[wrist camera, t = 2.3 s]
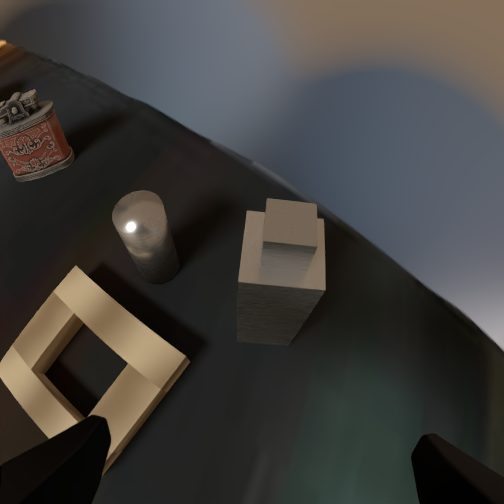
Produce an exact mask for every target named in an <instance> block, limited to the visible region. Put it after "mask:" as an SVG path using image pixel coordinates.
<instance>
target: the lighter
mask: <svg viewBox="0 0 504 504" xmlns="http://www.w3.org/2000/svg"><path fill="white" fill-rule="evenodd" d="M54 110H55V107H54V105H53V102H52V101H50V100H48V101H44V102H40V103H39V100H38V95H37V93H36V90H32V91H29V92H27V93H24V94H22V93H20V92H16V93H14V94H13V95H12V97H11V99H10V100H8V101H6V102H5V101H3V102H1V103H0V151H1V152H2V154H3V156H4V157H5V159H6V161H7V162H8V164H9V166H10V167H11V169H12V170H13V172H14V173H13V174H14V177H15V178H16V180H17V181H18V182H23V181H28V180H33V179H36V178H40V177H43V176H46V175H49V174H51V173H54V172H56V171H58V170H61V169H63V168H65V167H67V166H69V165H70V164H71V163H72V161H73V160H74V153H73V150H72V148H71V147H69V145H68V143H67V141H66V138H65V136H64V134H63V131H62V129H61V127H60V124H59V122H58V119H57V117H56V114H55V112H54ZM7 114H8V116H7Z"/></svg>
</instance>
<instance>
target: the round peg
mask: <svg viewBox="0 0 504 504" xmlns="http://www.w3.org/2000/svg"><path fill="white" fill-rule="evenodd" d="M112 219H113V223H114V225H115V227H116V229H117V231H118V233H119V235H120V236H121V238H122V240H123V242H124V244H125V246H126V248H127V250H128V252H129V253H130V255H131V257H132V259H133V261H134V263H135V264H136V266H137V268H138V270H139V271H140V273H141V275H142V277H143V278H144V279H145V280H146V281H148V282H149V283H152V284H164V283H166V282H168V281H170V280H171V279H173V278H174V277H175V275H176V274H177V272H178V270H179V259H178V255H177V252H176V249H175V245H174V242H173V239H172V235H171V232H170V228H169V225H168V221H167V218H166V214H165V211H164V207H163V204H162V201H161V199H160V198H159V197H158V196H157V195H156V194H155V193H153V192H150V191H136V192H132V193H130V194H128V195H126V196H124V197H123V198H122V199H121V200H120V201H119V202H118V203H117V204H116V206H115V208H114V210H113V215H112Z"/></svg>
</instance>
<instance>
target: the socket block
mask: <svg viewBox="0 0 504 504" xmlns="http://www.w3.org/2000/svg"><path fill="white" fill-rule="evenodd" d="M84 323H85V324H86V325H87V326H88V327H89V328H90V329H91V330H92V331H93V332H94V333H95V334H96V335H97V336H98V337H99V338H101V339H102V340H103V341H104V342H105V343H106V344H107V345H108V346H109V347H110V348H112V349H113V350H114V351H115V352H116V353H117V354H118V355H120V356H121V357H122V358H123V359H124V360H125V361H126V362H128V365H127V366H126V367H125V369H124V370H123V371H122V372H121V374H120V375H119V376H118V378H117V379H116V380H115V382H114V383H113V384H112V385H111V387H110V388H109V389H108V391H107V392H106V393H105V395H104V396H103V397H102V398H101V400H100V401H99V402H98V404H97V405H96V406H95V408H94V409H93V410H92V412H91V413H90V414H89V416H90V415H98V416H102V417H104V418H106V419H107V422H108V426H109V430H110V434H111V445H110V449H109V452H108V456H107V459H106V463H105V466H104V470H103V473H102V476H103V475H104V474H105V472H106V471H107V470H108V469H109V467H110V466H111V465H112V463H113V462H114V461H115V460H116V458H117V457H118V456H119V454H120V453H121V452H122V451H123V449H124V448H125V447H126V445H127V444H128V443H129V442H130V440H131V439H132V438H133V436H134V435H135V434H136V432H137V431H138V430H139V429H140V427H141V426H142V425H143V423H144V422H145V421H146V419H147V418H148V417H149V416H150V414H151V413H152V412H153V410H154V409H155V408H156V406H157V405H158V404H159V402H160V401H161V400H162V399H163V397H164V396H165V395H166V393H167V392H168V391H169V389H170V388H171V387H172V385H173V384H174V383H175V381H176V380H177V379H178V377H179V376H180V375H181V374H182V372H183V371H184V370H185V368H186V367H187V366H188V364H189V363H190V361H189V359H188V358H187V357H186V356H185V355H184V354H182V353H181V352H180V351H178V350H177V349H175V348H174V347H173V346H171V345H170V344H169V343H167V342H166V341H165V340H164V339H162V338H161V337H160V336H158V335H157V334H156V333H154V332H153V331H152V330H151V329H149V328H148V327H147V326H145V325H144V324H143V323H142V322H140V321H139V320H138V319H137V318H135V317H134V316H133V315H132V314H131V313H129V312H128V311H127V310H126V309H125V308H123V307H122V306H121V305H120V304H119V303H117V302H116V301H115V300H114V299H113V298H111V297H110V296H109V295H108V294H107V293H106V292H105V291H103V290H102V289H101V288H100V287H99V286H98V285H97V284H95V283H94V282H93V281H92V280H91V279H90V278H89V277H88V276H87V275H86V274H84V273H83V272H82V271H81V270H80V269H79V268H78V267H77V266H75V267H74V268H73V269H72V270H71V271H70V273H69V274H68V275H67V276H66V277H65V278H64V280H63V281H62V282H61V283H60V284H59V286H58V287H57V288H56V289H55V290H54V292H53V293H52V294H51V295H50V296H49V298H48V299H47V300H46V301H45V303H44V304H43V305H42V306H41V308H40V309H39V310H38V311H37V313H36V314H35V315H34V317H33V318H32V319H31V321H30V322H29V323H28V324H27V326H26V327H25V328H24V330H23V331H22V333H21V334H20V335H19V337H18V338H17V339H16V341H15V342H14V343H13V345H12V346H11V348H10V349H9V351H8V352H7V353H6V355H5V356H4V358H3V359H2V361H1V362H0V377H1V379H2V380H3V382H4V383H5V384H6V386H7V387H8V389H9V390H10V391H11V393H12V394H13V395H14V397H15V398H16V399H17V401H18V402H19V403H20V405H21V406H22V407H23V408H24V410H25V411H26V412H27V413H28V415H29V416H30V417H31V418H32V419H33V421H34V422H35V423H36V424H37V425H38V426H39V428H40V429H41V430H42V431H43V432H44V433H45V434H46V436H47V437H48V438H49V439H50V438H52V437H53V436H55V435H57V434H59V433H61V432H62V431H64V430H66V429H68V428H69V427H71V426H73V425H75V424H76V423H78V422H80V421H81V420H83V419H85V417H84V416H83V415H82V414H81V413H80V412H79V411H78V410H77V409H76V408H75V407H74V406H73V405H72V404H71V403H70V402H69V401H68V400H67V399H66V398H65V397H64V396H63V395H62V394H61V393H60V391H59V390H58V389H57V388H56V387H55V386H54V385H53V384H52V383H51V381H50V380H49V379H48V378H47V377H46V376H45V373H46V372H47V371H48V369H49V368H50V367H51V365H52V364H53V363H54V361H55V360H56V359H57V357H58V356H59V355H60V353H61V352H62V351H63V349H64V348H65V347H66V345H67V344H68V343H69V342H70V340H71V339H72V338H73V336H74V335H75V334H76V333H77V331H78V330H79V329H80V328H81V326H82V325H83V324H84Z"/></svg>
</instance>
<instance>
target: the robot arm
mask: <svg viewBox="0 0 504 504" xmlns="http://www.w3.org/2000/svg"><path fill="white" fill-rule="evenodd" d="M110 445H111V434H110V430H109V426H108V422H107V419H106V418H104V417H102V416H98V415H90V416H88V417H87V418H85V419H83V420H81V421H80V422H78V423H76V424H75V425H73V426H71V427H69V428H68V429H66V430H64V431H62V432H61V433H59V434H57V435H55V436H53V437H52V438H50V439H48V440H46V441H44V442H43V443H41V444H39V445H37V446H35V447H33V448H32V449H30V450H28V451H26V452H24V453H22V454H20V455H19V456H17V457H15V458H13V459H11V460H9V461H7V462H5V463H3V464H2V466H1V465H0V504H92V501H93V499H94V496H95V494H96V492H97V489H98V487H99V484H100V480H101V477H102V473H103V470H104V466H105V463H106V459H107V456H108V452H109V449H110ZM411 461H412V466H413V471H414V477H415V482H416V488H417V494H418V499H419V503H420V504H504V477H503V476H501V475H500V474H498V473H496V472H495V471H493V470H491V469H490V468H488V467H487V466H485V465H483V464H482V463H480V462H479V461H477V460H475V459H474V458H472V457H471V456H469V455H467V454H466V453H464V452H463V451H461V450H460V449H458V448H457V447H455V446H453V445H452V444H450V443H449V442H447V441H446V440H444V439H443V438H441V437H440V436H438V435H437V434H427V435H423V436H422V437H421V438H420V440H419V442H418V443H417V445H416V447H415V449H414V450H413V452H412V456H411Z"/></svg>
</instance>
